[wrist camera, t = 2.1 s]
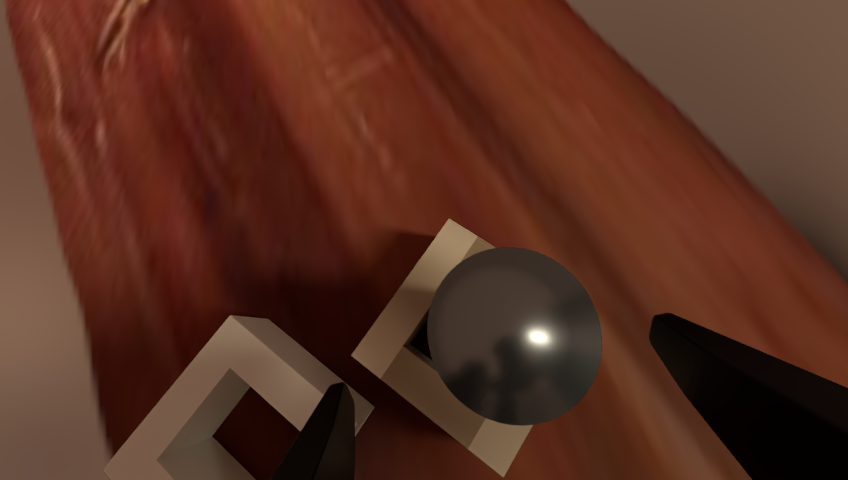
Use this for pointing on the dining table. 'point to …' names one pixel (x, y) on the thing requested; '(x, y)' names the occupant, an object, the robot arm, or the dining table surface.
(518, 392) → the grey metal rod
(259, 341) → the socket block
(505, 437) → the beige square frame block
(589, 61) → the dining table surface
